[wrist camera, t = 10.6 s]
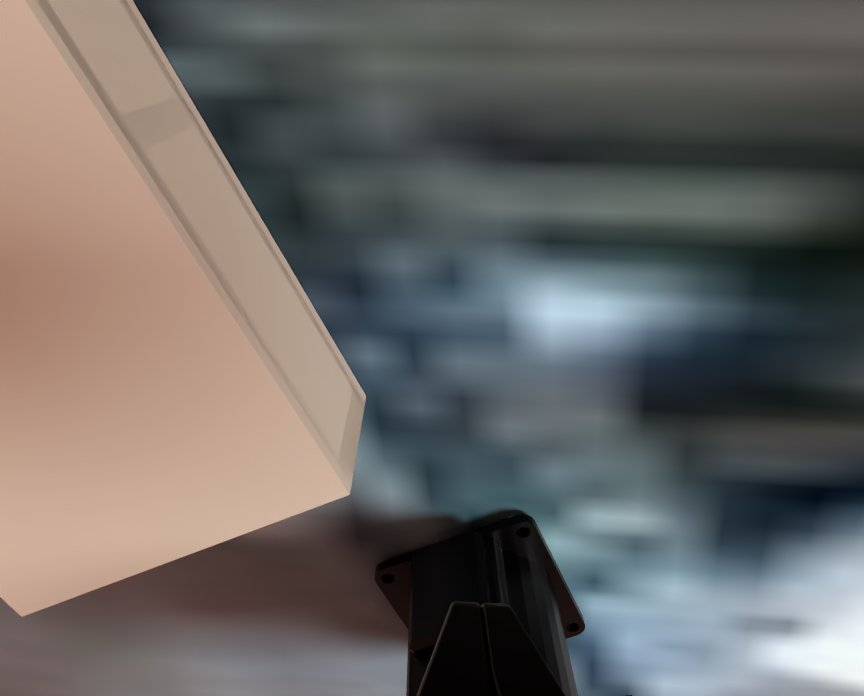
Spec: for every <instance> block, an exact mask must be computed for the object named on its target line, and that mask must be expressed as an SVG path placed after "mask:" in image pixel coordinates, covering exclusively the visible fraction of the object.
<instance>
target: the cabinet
mask: <svg viewBox="0 0 864 696" xmlns="http://www.w3.org/2000/svg"><path fill="white" fill-rule="evenodd" d="M365 400H366V395H365V393H364V392H363V390H362V388H361V387H360V385H359V383H358V382H357V380H356V378H355V376H354V375H353V373H352V371H351V370H350V368H349V366H348V365H347V363H346V361H345V359H344V358H343V356H342V354H341V353H340V351H339V349H338V348H337V346H336V344H335V343H334V341H333V339H332V337H331V336H330V334H329V332H328V331H327V329H326V327H325V326H324V324H323V322H322V320H321V319H320V317H319V315H318V314H317V312H316V310H315V309H314V307H313V305H312V304H311V302H310V300H309V298H308V297H307V295H306V293H305V292H304V290H303V288H302V287H301V285H300V283H299V282H298V280H297V278H296V276H295V275H294V273H293V271H292V270H291V268H290V266H289V265H288V263H287V261H286V259H285V258H284V256H283V254H282V253H281V251H280V249H279V248H278V246H277V244H276V243H275V241H274V239H273V237H272V236H271V234H270V232H269V231H268V229H267V227H266V226H265V224H264V222H263V220H262V219H261V217H260V215H259V214H258V212H257V210H256V209H255V207H254V205H253V204H252V202H251V200H250V198H249V197H248V195H247V193H246V192H245V190H244V188H243V187H242V185H241V183H240V182H239V180H238V178H237V176H236V175H235V173H234V171H233V170H232V168H231V166H230V165H229V163H228V161H227V159H226V158H225V156H224V154H223V153H222V151H221V149H220V148H219V146H218V144H217V143H216V141H215V139H214V137H213V136H212V134H211V132H210V131H209V129H208V127H207V126H206V124H205V122H204V121H203V119H202V117H201V115H200V114H199V112H198V110H197V109H196V107H195V105H194V104H193V102H192V100H191V98H190V97H189V95H188V93H187V92H186V90H185V88H184V87H183V85H182V83H181V82H180V80H179V78H178V76H177V75H176V73H175V71H174V70H173V68H172V66H171V65H170V63H169V61H168V59H167V58H166V56H165V54H164V53H163V51H162V49H161V48H160V46H159V44H158V43H157V41H156V39H155V37H154V36H153V34H152V32H151V31H150V29H149V27H148V26H147V24H146V22H145V21H144V19H143V17H142V15H141V14H140V12H139V10H138V9H137V7H136V5H135V4H134V2H133V0H0V597H1V598H2V599H3V600H4V601H5V602H6V603H7V604H8V605H9V606H10V607H11V608H13V609H14V610H15V611H16V612H17V613H18V614H19V615H20V616H21V617H23V616H26V615H28V614H31V613H34V612H36V611H39V610H42V609H44V608H47V607H50V606H52V605H55V604H58V603H60V602H63V601H66V600H69V599H71V598H74V597H77V596H79V595H82V594H85V593H87V592H90V591H93V590H95V589H98V588H101V587H103V586H106V585H109V584H111V583H114V582H117V581H120V580H122V579H125V578H128V577H130V576H133V575H136V574H138V573H141V572H144V571H146V570H149V569H152V568H154V567H157V566H160V565H163V564H165V563H168V562H171V561H173V560H176V559H179V558H181V557H184V556H187V555H189V554H192V553H195V552H197V551H200V550H203V549H205V548H208V547H211V546H214V545H216V544H219V543H222V542H224V541H227V540H230V539H232V538H235V537H238V536H240V535H243V534H246V533H248V532H251V531H254V530H257V529H259V528H262V527H265V526H267V525H270V524H273V523H275V522H278V521H281V520H283V519H286V518H289V517H291V516H294V515H297V514H299V513H302V512H305V511H308V510H310V509H313V508H316V507H318V506H321V505H324V504H326V503H329V502H332V501H334V500H337V499H340V498H342V497H345V496H348V495H350V491H351V485H352V479H353V473H354V467H355V461H356V455H357V448H358V442H359V436H360V430H361V424H362V418H363V412H364V406H365Z"/></svg>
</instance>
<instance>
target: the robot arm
mask: <svg viewBox="0 0 864 696" xmlns="http://www.w3.org/2000/svg"><path fill="white" fill-rule="evenodd" d="M521 527H526V529H525V530H518V529H519V528H521ZM385 574H391V575H385ZM375 581H376V583H377V585H378V586H379V588H380V589H381V591H382V592H383V593H384V595H385V596H386V598H387V599H388V601H389V602H390V604H391V605H392V607H393V608H394V609H395V611H396V612H397V614H398V615H399V617H400V618H401V620H402V621H403V623H404V624H405V625H406V627H407V628H408V630H409V632H408V662H407V692H406V696H578V694H577V689H576V685H575V680H574V676H573V671H572V666H571V662H570V657H569V653H568V648H567V643H566V638H569V637H573V636H576V635H578V634H580V633H582V632H583V631H584V629H585V624H584V620H583V616H582V614H581V612H580V610H579V608H578V606H577V604H576V602H575V600H574V598H573V596H572V594H571V592H570V590H569V588H568V586H567V584H566V582H565V580H564V578H563V576H562V574H561V572H560V570H559V568H558V566H557V564H556V562H555V560H554V558H553V556H552V554H551V552H550V550H549V548H548V546H547V544H546V542H545V540H544V538H543V536H542V534H541V532H540V530H539V528H538V526H537V524H536V522H535V520H534V519H533V518H532V517H530V516H528V515H523V514H522V515H517V516H514V517H511V518H508V519H505V520H502V521H499V522H496V523H494V524H491V525H488V526H485V527H482V528H479V529H476V530H473V531H470V532H468V533H465V534H462V535H459V536H456V537H453V538H450V539H447V540H444V541H442V542H439V543H436V544H433V545H430V546H427V547H424V548H421V549H419V550H416V551H413V552H410V553H407V554H404V555H401V556H398V557H395V558H393V559H390V560H387V561H384V562H382V563H380V564H378V566H377V567H376V571H375ZM570 623H571V624H570ZM627 696H632V695H627Z"/></svg>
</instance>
